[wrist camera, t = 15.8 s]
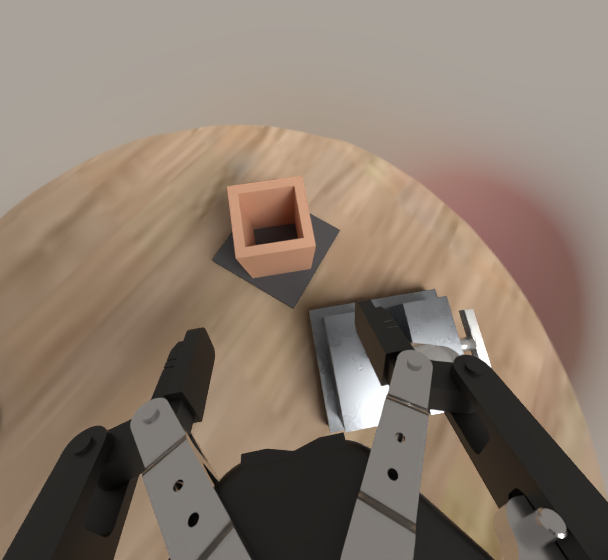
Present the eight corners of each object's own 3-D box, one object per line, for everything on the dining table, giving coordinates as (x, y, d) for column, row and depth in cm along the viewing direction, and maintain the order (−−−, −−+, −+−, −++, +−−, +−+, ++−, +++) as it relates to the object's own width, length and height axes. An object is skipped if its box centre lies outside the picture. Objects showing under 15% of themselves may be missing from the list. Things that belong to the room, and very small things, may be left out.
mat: (213, 261, 26) (212, 260, 25) (263, 190, 28) (263, 187, 27) (293, 308, 25) (293, 308, 24) (339, 231, 27) (339, 229, 26)
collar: (252, 278, 25) (235, 258, 18) (245, 223, 26) (226, 186, 19) (310, 268, 25) (315, 245, 18) (300, 215, 27) (302, 175, 20)
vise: (328, 426, 23) (353, 505, 12) (308, 311, 25) (315, 298, 15) (474, 396, 24) (611, 447, 13) (443, 288, 26) (539, 260, 16)
